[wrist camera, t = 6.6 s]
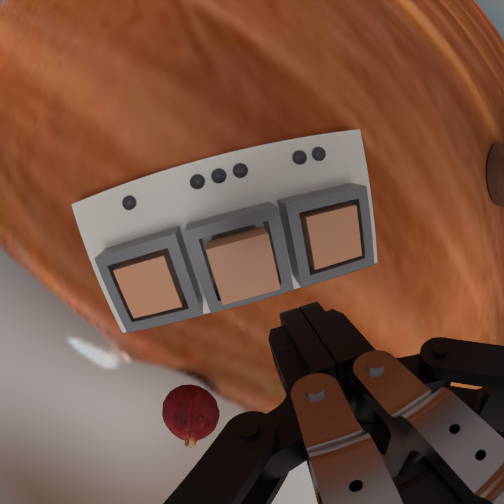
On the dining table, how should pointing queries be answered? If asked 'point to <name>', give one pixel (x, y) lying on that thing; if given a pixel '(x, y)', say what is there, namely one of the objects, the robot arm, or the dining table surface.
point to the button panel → (227, 217)
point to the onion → (190, 413)
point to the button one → (149, 283)
